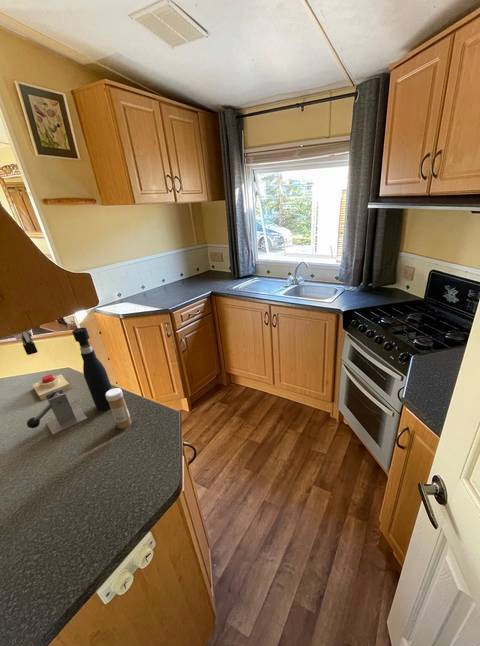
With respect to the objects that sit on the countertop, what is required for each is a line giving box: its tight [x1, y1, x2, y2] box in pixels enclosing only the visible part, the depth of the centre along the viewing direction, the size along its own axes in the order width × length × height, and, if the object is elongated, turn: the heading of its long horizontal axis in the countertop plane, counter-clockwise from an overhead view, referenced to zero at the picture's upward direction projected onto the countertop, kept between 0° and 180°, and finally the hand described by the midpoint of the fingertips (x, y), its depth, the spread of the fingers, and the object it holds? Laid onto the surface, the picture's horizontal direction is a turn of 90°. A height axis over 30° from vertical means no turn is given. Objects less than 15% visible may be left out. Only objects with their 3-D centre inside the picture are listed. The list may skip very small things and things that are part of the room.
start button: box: [41, 374, 54, 383], centre depth 114 cm, size 4×4×2 cm
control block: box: [31, 373, 71, 401], centre depth 115 cm, size 12×10×4 cm
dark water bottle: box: [71, 327, 113, 412], centre depth 96 cm, size 6×6×30 cm
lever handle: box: [26, 392, 60, 429], centre depth 90 cm, size 12×3×3 cm
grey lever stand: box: [45, 388, 88, 436], centre depth 94 cm, size 10×8×12 cm
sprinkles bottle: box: [105, 387, 133, 429], centre depth 91 cm, size 5×5×13 cm
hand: (32, 353), depth 109 cm, fingers closed
